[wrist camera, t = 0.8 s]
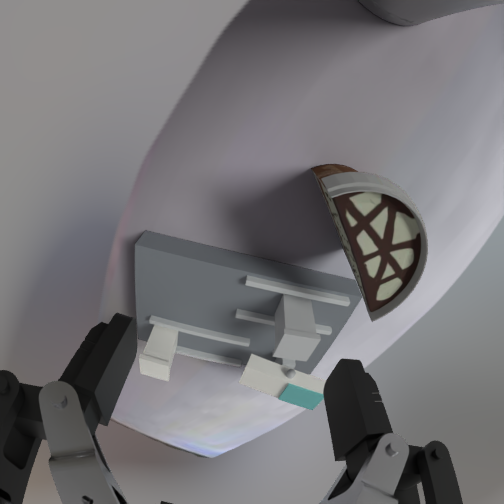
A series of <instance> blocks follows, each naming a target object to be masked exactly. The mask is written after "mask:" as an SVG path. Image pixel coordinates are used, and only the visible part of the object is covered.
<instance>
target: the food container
mask: <svg viewBox="0 0 504 504" xmlns="http://www.w3.org/2000/svg"><path fill="white" fill-rule="evenodd" d="M311 169H312V172H313V174H314V176H315V179H316V181H317V183H318V186H319V188H320V190H321V193H322V195H323V198H324V200H325V203H326V205H327V208H328V210H329V213H330V215H331V218H332V220H333V223H334V226H335V228H336V231H337V234H338V236H339V239H340V242H341V244H342V247H343V250H344V252H345V254H346V257H347V259H348V262H349V264H350V266H351V269H352V271H353V274H354V276H355V279H356V281H357V284H358V286H359V289H360V291H361V294H362V296H363V299H364V302H365V304H366V307H367V311H368V313H369V316H370V318H371V321H372V322H373V321H375V320H377V319H380V318H382V317H383V316H385V315H387V314H388V313H390V312H391V311H393V310H394V309H395V308H397V307H398V306H399V305H400V304H401V303H402V302H403V301H404V300H405V299H406V298H407V297H408V296H409V295H410V294H411V292H412V291H413V290H414V288H415V287H416V285H417V284H418V282H419V280H420V278H421V276H422V274H423V271H424V268H425V265H426V261H427V254H428V240H427V233H426V229H425V225H424V222H423V220H422V217H421V215H420V213H419V211H418V209H417V207H416V206H415V204H414V202H413V201H412V200H411V198H410V197H409V195H408V194H407V193H406V192H405V191H404V190H403V189H402V188H401V187H400V186H398V185H397V184H395V183H394V182H392V181H390V180H389V179H386V178H384V177H381V176H379V175H376V174H371V173H365V172H358V171H356V170H354V169H352V168H350V167H347V166H344V165H339V164H326V165H320V166H317V167H314V168H311Z"/></svg>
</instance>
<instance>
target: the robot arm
mask: <svg viewBox="0 0 504 504" xmlns="http://www.w3.org/2000/svg"><path fill="white" fill-rule="evenodd" d="M358 1H359V2H360V3H361V4H362V5H364V6H365V7H366V8H367V9H368V10H370V11H371V12H372V13H374V14H375V15H377V16H379V17H380V18H382V19H384V20H386V21H389V22H391V23H394V24H398V25H402V26H413V25H418V24H421V23H424V22H427V21H430V20H433V19H437V18H440V17H444V16H447V15H451V14H454V13H458V12H462V11H466V10H471V9H475V8H480V7H485V6H490V5H496V4H503V3H504V0H358ZM136 352H137V330H136V319H135V318H132V317H129V316H126V315H122V314H119V313H116V314H115V315H114V317H113V318H112V320H111V321H110V323H109V324H106V323H103V322H101V323H99V324H98V325H96V326H95V327H93V328H92V329H91V330H90V332H89V333H88V335H87V336H86V338H85V341H83V342H82V344H81V346H80V348H79V349H78V350H77V352H76V353H75V355H74V356H73V358H72V359H71V361H70V363H69V364H68V366H67V368H66V369H65V371H64V373H63V375H62V376H61V378H60V379H59V380H58V381H53V382H50V383H48V384H46V385H45V386H44V387H39V386H33V385H28V384H22V383H19V381H18V379H17V378H16V376H15V375H14V374H13V373H11V372H9V371H6V370H0V504H22V502H23V498H24V494H25V490H26V487H27V483H28V480H29V477H30V473H31V470H32V467H33V464H34V461H35V458H36V455H37V452H38V449H39V447H40V444H41V441H42V439H45V440H47V441H48V446H49V449H50V453H51V458H50V459H49V467H50V471H51V474H52V477H53V480H54V482H55V485H56V488H57V491H58V493H59V496H60V498H61V501H62V503H63V504H128V502H127V500H126V498H125V496H124V495H123V492H122V491H121V489H120V487H119V485H118V483H117V482H116V480H115V478H114V476H113V474H112V472H111V470H110V468H109V466H108V463H107V461H106V459H105V456H104V454H103V452H102V449H101V447H100V444H99V442H98V439H97V436H96V434H95V431H96V428H97V426H98V423H100V424H102V425H105V426H108V423H109V420H110V418H111V415H112V413H113V410H114V408H115V405H116V403H117V400H118V398H119V395H120V393H121V390H122V388H123V386H124V383H125V381H126V379H127V376H128V374H129V372H130V369H131V367H132V365H133V362H134V360H135V357H136ZM323 395H324V400H325V406H326V411H327V416H328V422H329V427H330V433H331V438H332V444H333V450H334V456H335V461H344V460H346V466H345V467H344V468H343V469H342V471H341V473H340V474H339V476H338V477H337V479H336V480H335V482H334V484H333V485H332V487H331V488H330V490H329V491H328V493H327V494H326V496H325V497H324V499H323V500H322V501H321V502H320V503H319V504H420V499H419V494H418V490H417V484H418V483H420V482H422V486H423V491H424V496H425V501H426V504H463V503H462V498H461V494H460V490H459V486H458V482H457V478H456V474H455V471H454V468H453V464H452V461H451V458H450V454H449V451H448V449H447V448H446V446H445V445H444V444H443V443H442V442H439V441H432V442H430V443H429V444H427V445H426V446H425V447H418V446H412V445H408V444H407V442H406V440H405V439H404V438H403V437H402V436H400V435H398V434H394V433H393V431H392V428H391V425H390V422H389V419H388V416H387V413H386V410H385V407H384V404H383V403H382V399H381V396H380V395H379V390H378V388H377V385H376V382H375V381H374V380H373V378H372V377H371V376H370V375H369V373H365V371H364V368H363V366H362V363H361V361H360V360H353V359H341V360H340V361H339V362H338V364H337V365H336V367H335V368H334V370H333V371H332V373H331V374H330V376H329V377H328V379H327V380H326V382H325V385H324V389H323ZM161 504H172V503H167V502H163V501H161Z"/></svg>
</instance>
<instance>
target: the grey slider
mask: <svg viewBox="0 0 504 504" xmlns="http://www.w3.org/2000/svg"><path fill="white" fill-rule="evenodd" d="M320 340H321V338H320V335H319V334H317V332H316V326H315V320H314V314H313V308H312V303H311V299H306V298H301V297H296V296H292V295H287V294H283V296H282V298H281V301H280V303H279V305H278V308H277V310H276V312H275V348H274V350H273V357H278V358H285V359H292V360H299V361H307V360H308V358H309V357H310V355H311V354H312V352H313V351H314V349H315V348H316V346H317V345H318V343H319V342H320Z"/></svg>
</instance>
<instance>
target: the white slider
mask: <svg viewBox="0 0 504 504" xmlns="http://www.w3.org/2000/svg"><path fill="white" fill-rule="evenodd" d="M177 342H178V331H176V330H173V329H169V328H165V327H161V326H158V325H154V327H153V329H152V332H151V334H150V337H149V339H148V342H147V344H146V347H145V349H144V352H143V354H140V356H139V363H140V371H141V374H144V375H148V376H151V377H154V378H158V379H161V380H165V381H169V378H170V367H171V364H172V360H173V357H174V354H175V350H176V347H177Z"/></svg>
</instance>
